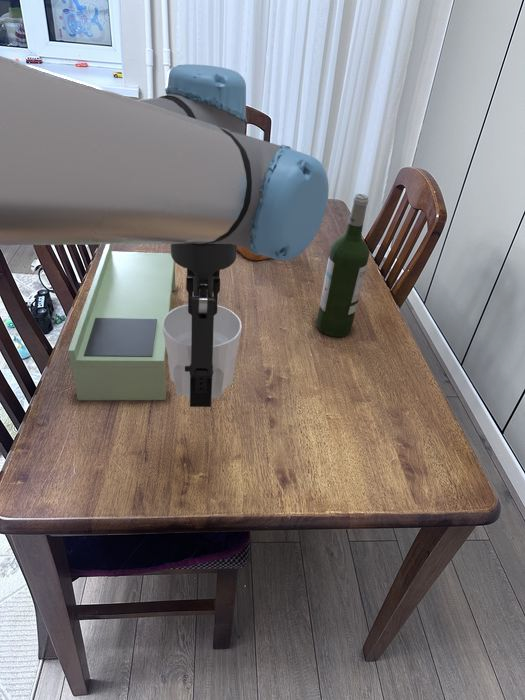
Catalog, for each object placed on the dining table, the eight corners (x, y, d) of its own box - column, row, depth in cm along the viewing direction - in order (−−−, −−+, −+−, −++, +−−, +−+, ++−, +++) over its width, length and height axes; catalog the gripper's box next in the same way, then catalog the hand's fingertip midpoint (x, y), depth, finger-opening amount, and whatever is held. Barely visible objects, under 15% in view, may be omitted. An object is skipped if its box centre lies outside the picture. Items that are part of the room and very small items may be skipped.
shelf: (165, 400, 86) (163, 351, 79) (77, 400, 84) (67, 350, 77) (175, 287, 117) (174, 245, 110) (111, 285, 115) (106, 242, 108)
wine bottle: (355, 336, 107) (389, 204, 89) (321, 338, 105) (348, 203, 87) (344, 316, 113) (373, 189, 95) (312, 317, 111) (335, 188, 93)
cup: (157, 366, 70) (155, 307, 64) (224, 355, 73) (227, 299, 67) (174, 413, 63) (172, 353, 57) (246, 399, 66) (252, 340, 60)
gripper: (243, 277, 46) (231, 439, 59) (233, 192, 63) (225, 331, 77) (162, 274, 45) (168, 439, 58) (175, 189, 63) (177, 330, 76)
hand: (201, 378), depth 67 cm, fingers closed on cup, 10 cm apart
